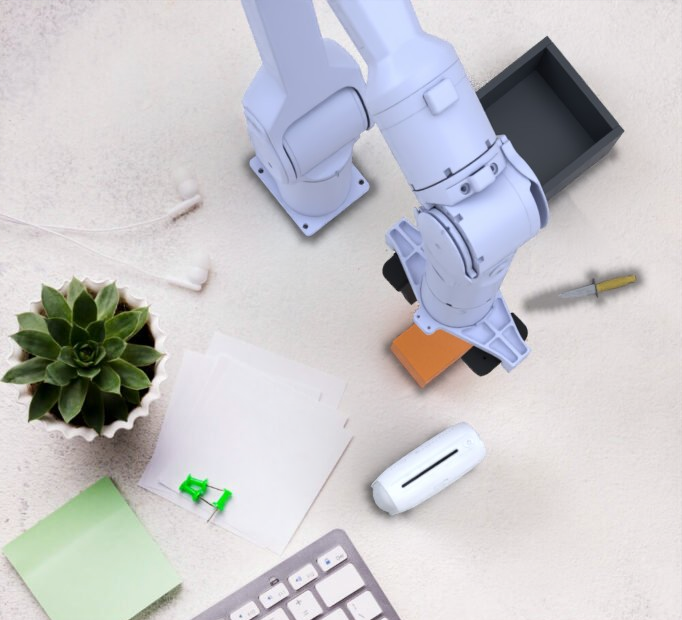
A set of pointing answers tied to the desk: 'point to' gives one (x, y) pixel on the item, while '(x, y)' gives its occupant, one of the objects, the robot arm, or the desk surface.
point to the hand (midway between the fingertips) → (446, 326)
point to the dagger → (598, 287)
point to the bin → (549, 116)
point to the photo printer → (428, 469)
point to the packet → (427, 352)
